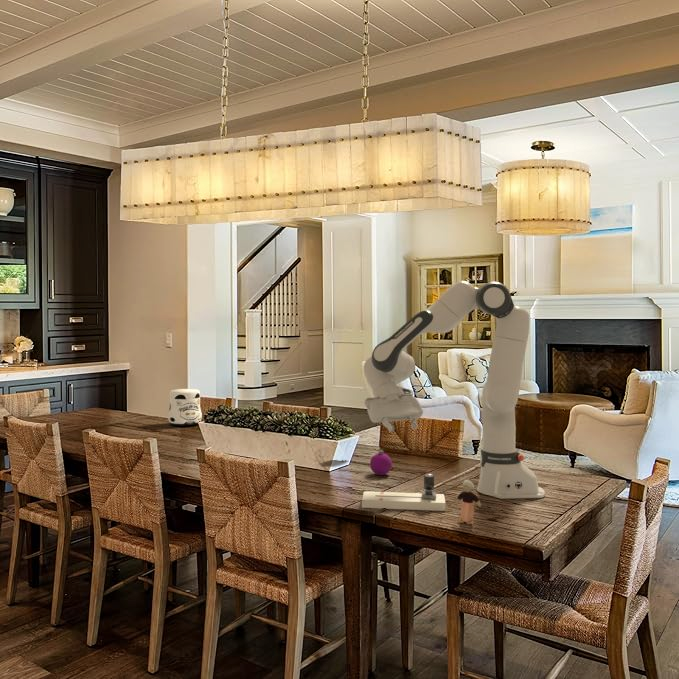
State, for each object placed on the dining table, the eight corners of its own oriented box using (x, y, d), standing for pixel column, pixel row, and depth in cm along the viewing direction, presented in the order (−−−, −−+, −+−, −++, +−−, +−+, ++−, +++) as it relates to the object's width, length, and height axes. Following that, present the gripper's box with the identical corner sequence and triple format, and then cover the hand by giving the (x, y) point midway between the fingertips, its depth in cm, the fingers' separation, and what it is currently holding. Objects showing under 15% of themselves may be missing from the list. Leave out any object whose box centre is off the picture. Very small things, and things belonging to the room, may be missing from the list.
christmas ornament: (374, 471, 265) (375, 445, 264) (394, 473, 261) (395, 447, 261) (366, 475, 257) (366, 449, 257) (386, 478, 254) (387, 451, 253)
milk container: (189, 428, 352) (189, 393, 351) (161, 426, 358) (161, 391, 357) (208, 423, 368) (208, 389, 367) (180, 421, 374) (180, 387, 373)
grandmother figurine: (453, 523, 202) (454, 480, 202) (456, 519, 206) (456, 477, 205) (479, 526, 200) (480, 483, 199) (482, 522, 203) (482, 479, 203)
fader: (435, 495, 222) (435, 473, 221) (436, 498, 217) (436, 476, 217) (421, 494, 222) (422, 472, 222) (422, 498, 218) (422, 476, 217)
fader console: (443, 501, 224) (444, 493, 224) (445, 510, 214) (445, 502, 214) (363, 498, 227) (364, 491, 227) (361, 507, 217) (361, 499, 217)
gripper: (366, 392, 233) (381, 426, 225) (415, 389, 243) (432, 421, 235) (359, 404, 237) (374, 437, 229) (408, 400, 247) (424, 432, 239)
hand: (404, 429), depth 232 cm, fingers open, 8 cm apart
